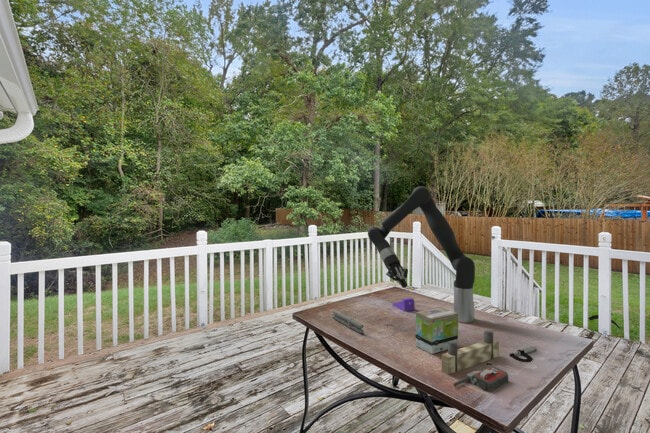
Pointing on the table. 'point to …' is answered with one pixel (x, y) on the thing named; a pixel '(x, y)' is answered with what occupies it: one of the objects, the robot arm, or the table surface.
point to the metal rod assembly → (348, 321)
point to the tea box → (436, 329)
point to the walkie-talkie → (486, 378)
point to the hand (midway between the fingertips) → (405, 286)
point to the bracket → (405, 304)
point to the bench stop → (469, 354)
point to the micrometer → (524, 354)
